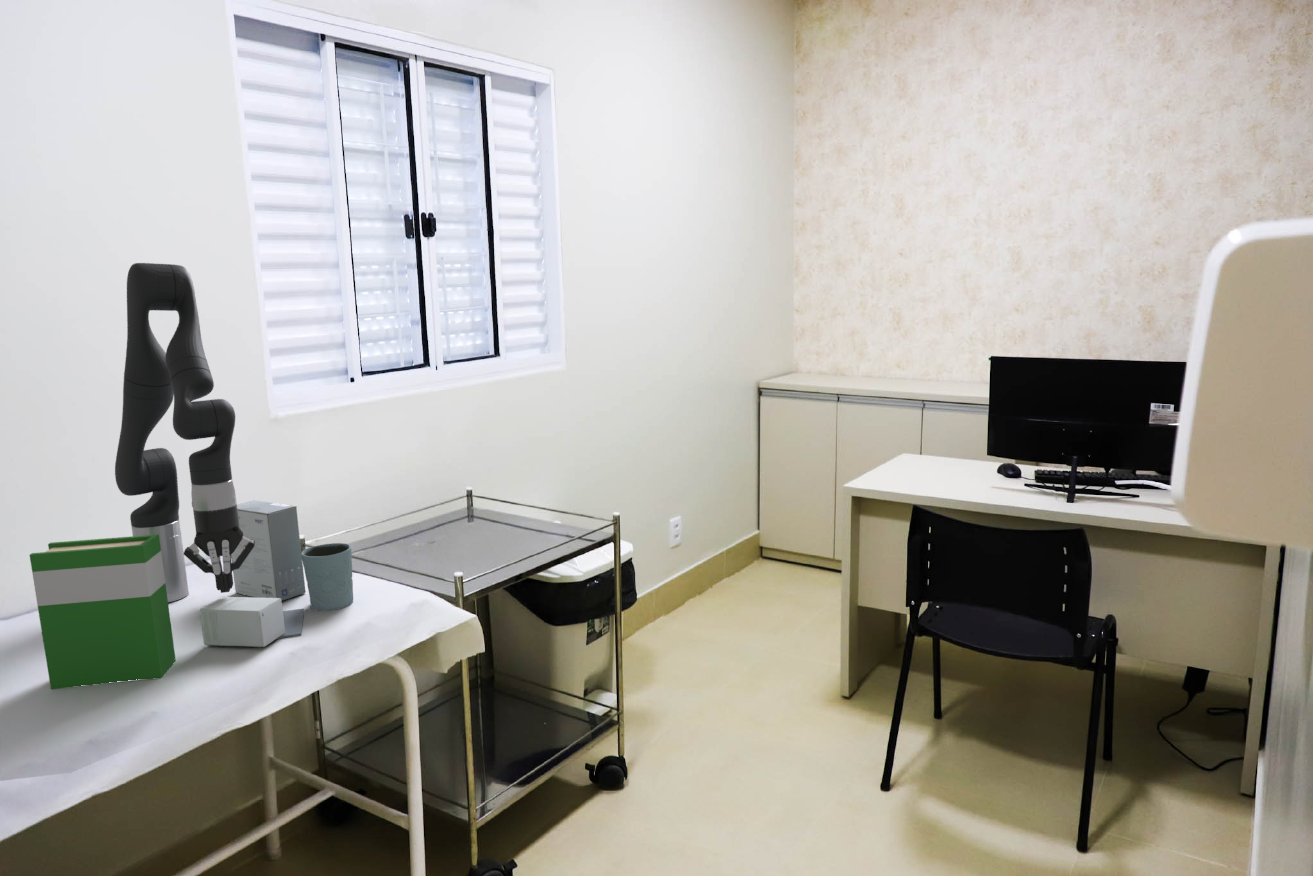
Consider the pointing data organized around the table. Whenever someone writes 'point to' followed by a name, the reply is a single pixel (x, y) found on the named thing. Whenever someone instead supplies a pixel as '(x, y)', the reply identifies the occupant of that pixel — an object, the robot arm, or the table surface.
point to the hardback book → (103, 610)
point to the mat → (293, 622)
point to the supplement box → (242, 621)
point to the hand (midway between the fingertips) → (225, 591)
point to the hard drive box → (269, 551)
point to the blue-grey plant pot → (329, 575)
